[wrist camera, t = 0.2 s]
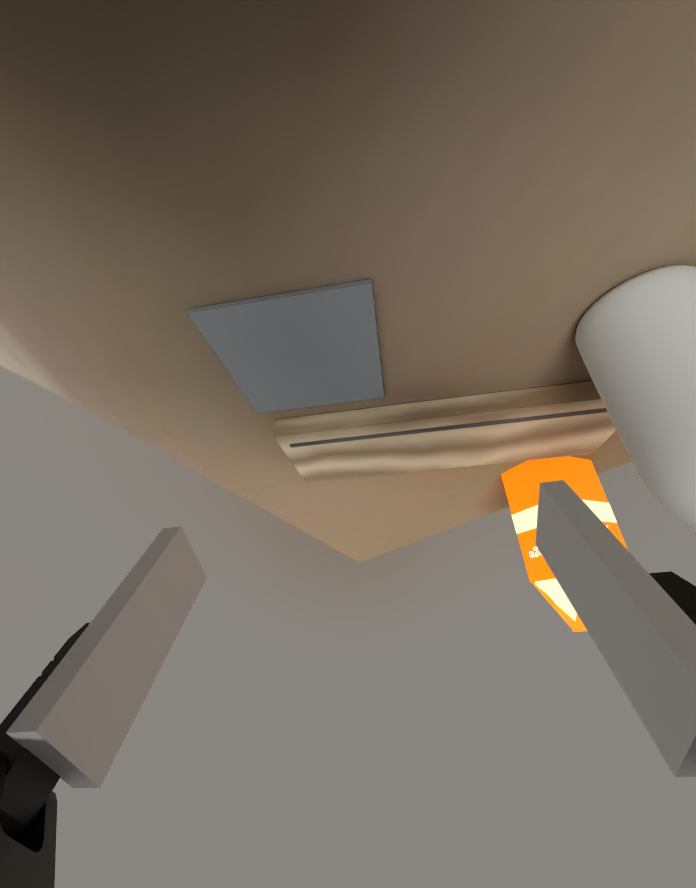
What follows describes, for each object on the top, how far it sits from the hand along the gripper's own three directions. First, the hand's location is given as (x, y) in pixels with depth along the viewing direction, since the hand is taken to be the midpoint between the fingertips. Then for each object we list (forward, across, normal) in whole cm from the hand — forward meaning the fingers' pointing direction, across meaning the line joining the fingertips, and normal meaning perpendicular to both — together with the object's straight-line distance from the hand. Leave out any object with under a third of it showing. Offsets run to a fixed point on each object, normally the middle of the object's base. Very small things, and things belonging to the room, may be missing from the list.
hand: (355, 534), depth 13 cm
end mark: (+17, -4, +3) cm, 18 cm away
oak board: (+25, +8, -9) cm, 28 cm away
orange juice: (+33, +22, -21) cm, 45 cm away
